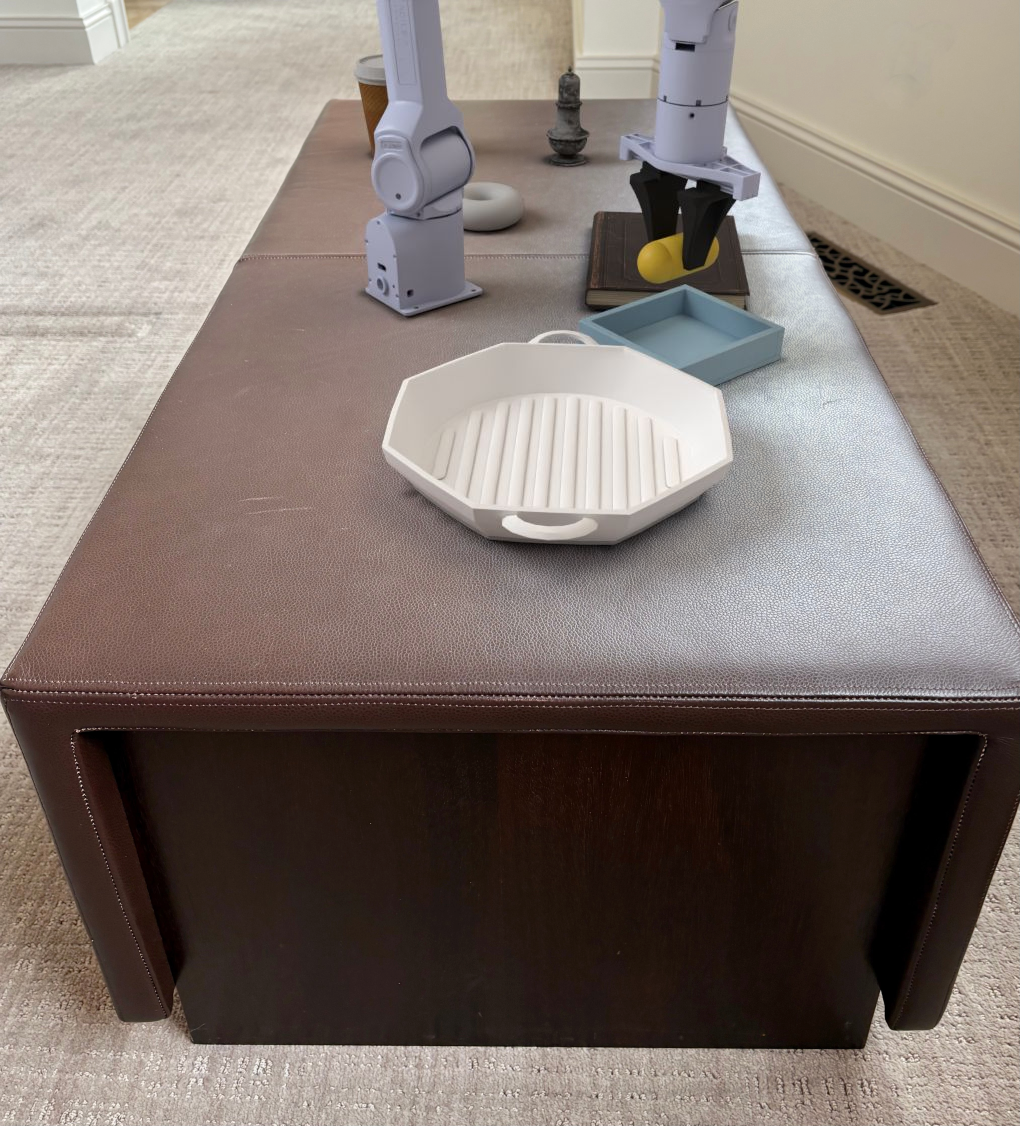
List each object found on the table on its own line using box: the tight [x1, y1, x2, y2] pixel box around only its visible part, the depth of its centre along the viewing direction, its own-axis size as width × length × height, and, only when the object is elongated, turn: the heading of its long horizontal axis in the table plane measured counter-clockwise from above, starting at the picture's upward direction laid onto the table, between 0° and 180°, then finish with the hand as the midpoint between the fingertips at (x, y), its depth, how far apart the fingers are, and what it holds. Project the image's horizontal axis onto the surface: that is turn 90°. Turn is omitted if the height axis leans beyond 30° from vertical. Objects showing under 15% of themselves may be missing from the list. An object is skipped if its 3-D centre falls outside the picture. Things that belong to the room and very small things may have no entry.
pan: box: [381, 329, 734, 546], centre depth 82 cm, size 31×26×4 cm
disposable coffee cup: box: [353, 53, 389, 157], centre depth 145 cm, size 10×10×12 cm
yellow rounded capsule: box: [637, 233, 719, 283], centre depth 94 cm, size 9×4×4 cm, turn 127°
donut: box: [462, 181, 526, 232], centre depth 126 cm, size 10×4×10 cm
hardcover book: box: [583, 210, 751, 312], centre depth 114 cm, size 16×23×2 cm
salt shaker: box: [545, 65, 591, 167], centre depth 142 cm, size 6×6×12 cm
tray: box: [577, 284, 786, 387], centre depth 97 cm, size 14×13×3 cm
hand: (677, 260), depth 94 cm, fingers closed on yellow rounded capsule, 3 cm apart
